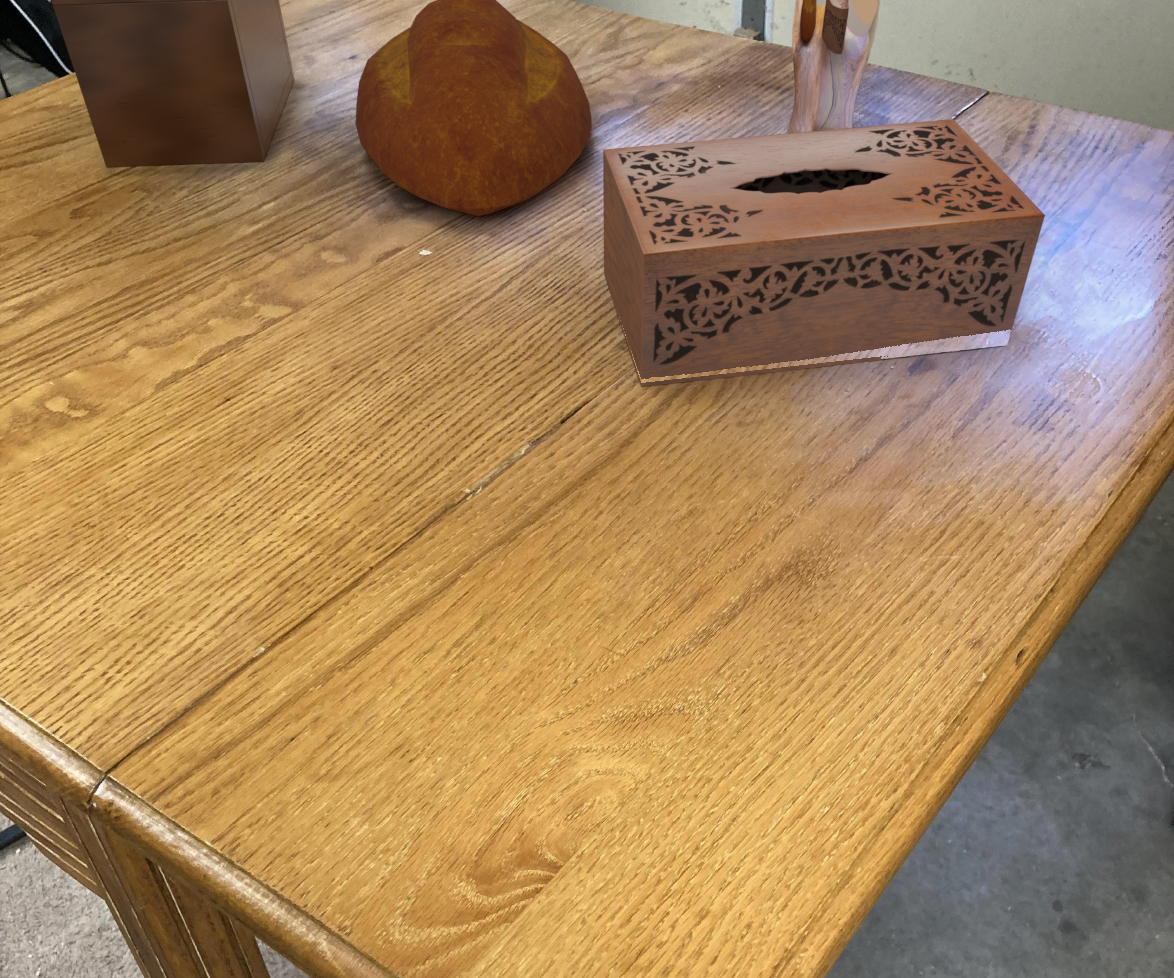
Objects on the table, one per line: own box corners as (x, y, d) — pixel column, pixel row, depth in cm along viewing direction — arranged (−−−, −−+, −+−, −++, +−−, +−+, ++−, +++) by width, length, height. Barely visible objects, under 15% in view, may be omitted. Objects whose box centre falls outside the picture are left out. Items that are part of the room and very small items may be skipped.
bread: (338, 238, 90) (310, 87, 81) (378, 75, 114) (359, -54, 105) (600, 229, 90) (599, 77, 82) (584, 69, 114) (582, -61, 106)
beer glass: (766, 132, 103) (783, -41, 92) (833, 120, 104) (857, -51, 94) (803, 164, 98) (826, -15, 88) (873, 150, 99) (902, -26, 89)
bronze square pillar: (105, 167, 100) (45, -15, 89) (156, 84, 113) (109, -83, 103) (263, 162, 100) (222, -21, 89) (294, 79, 113) (262, -88, 103)
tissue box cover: (927, 241, 88) (953, 119, 81) (1007, 346, 77) (1044, 215, 70) (603, 273, 85) (603, 149, 78) (640, 386, 74) (643, 254, 68)
